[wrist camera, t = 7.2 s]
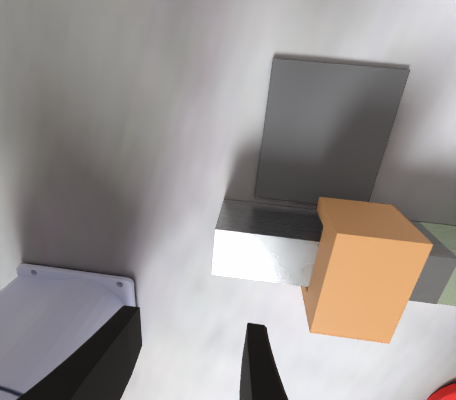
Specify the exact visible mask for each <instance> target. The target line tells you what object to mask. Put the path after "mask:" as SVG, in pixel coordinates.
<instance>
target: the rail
mask: <svg viewBox="0 0 456 400" xmlns="http://www.w3.org/2000/svg"><path fill="white" fill-rule="evenodd" d="M410 222H411V223H412V224H413V225H414V226H415V227H416V228H417V229H418V230H419V231H420V232H421V233H422V234H423V235H424V236H425V237H426V238H427V239H428V240H429V241H430V242H431V243H432V244H433V246H432V249H431V251H430V253H429V255H428V258H427V260H426V262H425V264H424V267H423V269H422V271H421V273H420V276H419V278H418V280H417V282H416V285H415V287H414V289H413V291H412V294H411V296H410V298H409V300H410V301H417V302H425V303H432V304H445V305H452V306H456V226H451V225H443V224H434V223H425V222H417V221H410ZM322 231H323V224H322V222H321V219H320V217H319V215H318V212H317V210H314V209H305V208H296V207H288V206H279V205H271V204H262V203H253V202H245V201H236V200H228V199H224V200H223V204H222V207H221V211H220V214H219V218H218V221H217V225H216V228H215V239H214V253H213V267H212V274H215V275H222V276H230V277H237V278H245V279H252V280H260V281H267V282H275V283H282V284H290V285H297V286H305V287H309V283H310V279H311V275H312V271H313V267H314V263H315V259H316V255H317V251H318V247H319V243H320V239H321V235H322Z"/></svg>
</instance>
